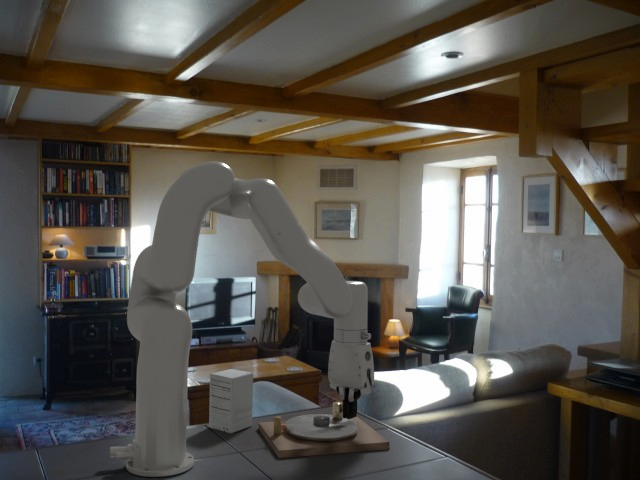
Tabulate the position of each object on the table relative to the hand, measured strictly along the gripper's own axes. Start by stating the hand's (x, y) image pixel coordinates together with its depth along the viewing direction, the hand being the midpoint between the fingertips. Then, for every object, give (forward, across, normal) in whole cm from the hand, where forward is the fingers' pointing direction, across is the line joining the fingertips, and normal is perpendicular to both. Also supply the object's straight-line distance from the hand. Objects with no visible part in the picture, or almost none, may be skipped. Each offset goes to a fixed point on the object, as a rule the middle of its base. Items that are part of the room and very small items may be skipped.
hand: (349, 417), depth 143 cm
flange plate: (+2, +4, +6) cm, 8 cm away
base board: (+4, +3, +6) cm, 8 cm away
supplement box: (+4, +24, +14) cm, 28 cm away
